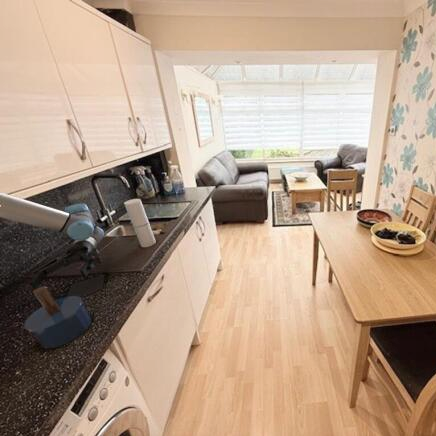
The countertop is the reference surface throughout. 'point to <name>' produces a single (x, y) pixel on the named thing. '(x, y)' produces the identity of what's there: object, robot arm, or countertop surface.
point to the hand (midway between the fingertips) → (58, 279)
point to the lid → (51, 310)
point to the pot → (64, 330)
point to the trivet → (86, 286)
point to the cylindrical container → (140, 222)
